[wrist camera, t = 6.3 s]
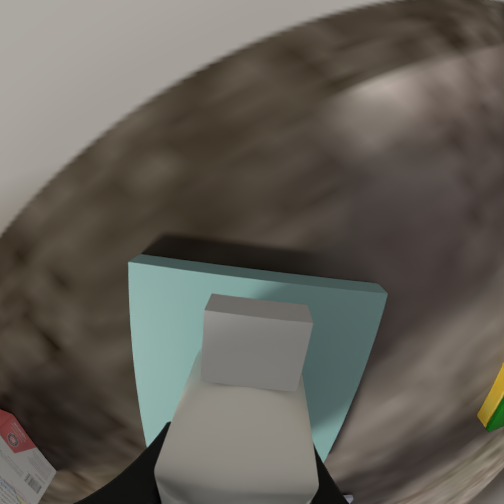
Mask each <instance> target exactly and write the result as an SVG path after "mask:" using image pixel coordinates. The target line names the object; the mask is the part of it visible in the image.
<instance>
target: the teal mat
mask: <svg viewBox="0 0 504 504" xmlns="http://www.w3.org/2000/svg"><path fill="white" fill-rule="evenodd" d="M212 293H213V294H221V295H228V296H236V297H243V298H251V299H259V300H267V301H276V302H285V303H294V304H303V305H308V308H309V311H310V314H311V317H312V320H313V327H312V331H311V336H310V340H309V344H308V348H307V352H306V356H305V360H304V364H303V368H302V376H303V382H304V388H305V394H306V401H307V407H308V413H309V420H310V426H311V433H312V439H313V443H314V445H315V447H316V450H317V452H318V454H319V456H320V458H321V460H322V462H323V463H324V461H325V459H326V457H327V455H328V453H329V451H330V449H331V447H332V445H333V443H334V441H335V439H336V437H337V434H338V432H339V430H340V428H341V426H342V423H343V421H344V419H345V417H346V414H347V412H348V410H349V407H350V405H351V403H352V400H353V398H354V395H355V393H356V390H357V388H358V385H359V382H360V380H361V377H362V374H363V372H364V369H365V366H366V363H367V361H368V358H369V355H370V352H371V349H372V346H373V343H374V340H375V337H376V334H377V330H378V327H379V324H380V321H381V317H382V314H383V310H384V307H385V303H386V299H387V296H388V293H387V292H386V291H385V290H384V289H383V288H382V287H381V286H380V285H379V284H378V283H369V282H360V281H351V280H342V279H333V278H324V277H315V276H307V275H298V274H290V273H281V272H273V271H265V270H257V269H249V268H241V267H233V266H225V265H217V264H210V263H202V262H194V261H187V260H180V259H172V258H165V257H158V256H150V255H143V254H140V255H138V256H137V257H135V258H134V259H132V260H131V261H129V304H130V323H131V337H132V349H133V359H134V369H135V377H136V385H137V393H138V399H139V406H140V412H141V418H142V424H143V430H144V435H145V440H146V445H147V447H148V446H149V445H150V444H151V443H152V442H153V440H154V439H155V438H156V437H157V435H158V434H159V433H160V432H161V430H162V429H163V427H164V426H165V425H166V423H167V422H169V421H170V422H171V421H172V419H173V416H174V413H175V411H176V408H177V405H178V403H179V400H180V397H181V395H182V392H183V389H184V387H185V384H186V381H187V379H188V376H189V373H190V371H191V368H192V365H193V363H194V360H195V358H196V355H197V353H198V352H199V350H200V349H201V348H202V340H203V321H204V309H205V307H206V305H207V303H208V301H209V298H210V296H211V294H212Z"/></svg>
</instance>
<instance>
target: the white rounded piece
mask: <svg viewBox="0 0 504 504" xmlns="http://www.w3.org/2000/svg"><path fill="white" fill-rule="evenodd" d="M312 327H313V320H312V317H311V314H310V311H309V308H308V305H303V304H294V303H285V302H276V301H267V300H259V299H251V298H243V297H236V296H228V295H221V294H213V293H212V294H211V296H210V298H209V301H208V303H207V305H206V307H205V309H204V321H203V340H202V348H201V349H200V350H199V352H198V353H197V355H196V358H195V360H194V363H193V365H192V368H191V371H190V373H189V376H188V379H187V381H186V384H185V387H184V389H183V392H182V395H181V397H180V400H179V403H178V405H177V408H176V411H175V413H174V416H173V419H172V421H171V424H170V427H169V430H168V432H167V435H166V438H165V441H164V443H163V446H162V449H161V451H160V454H159V457H158V460H157V463H156V465H155V470H154V473H155V479H156V483H157V487H158V491H159V494H160V498H161V502H162V504H309V503H310V502H311V500H312V499H313V497H314V496H315V494H316V492H317V490H318V486H319V482H318V474H317V467H316V460H315V453H314V446H313V439H312V433H311V426H310V420H309V413H308V407H307V401H306V394H305V388H304V382H303V376H302V368H303V364H304V360H305V356H306V352H307V348H308V344H309V340H310V336H311V331H312Z"/></svg>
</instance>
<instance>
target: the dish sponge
mask: <svg viewBox="0 0 504 504" xmlns="http://www.w3.org/2000/svg"><path fill="white" fill-rule="evenodd" d="M477 416H478V418H479V419H480V421H481V422H482V424H483V425H484V427H486V430H487V431H488V432H490V431H493V430H495V429H498V428H500V427H503V426H504V363H503V365H502V368H501V370H500V372H499V374H498V376H497V378H496V380H495V382H494V384H493V386H492V388H491V390H490V392H489V394H488V396H487V398H486V400H485V401H484V403H483V405H482V407H481V409H480V410H479V412H478V414H477Z"/></svg>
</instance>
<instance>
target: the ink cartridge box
mask: <svg viewBox="0 0 504 504" xmlns="http://www.w3.org/2000/svg"><path fill="white" fill-rule="evenodd" d="M55 474H56V470H55V469H54V468H53V466H52V465H51V464H50V463H49V462H48V461H47V459H46V458H45V457H44V456H43V454H42V453H41V452H40V451H39V449H38V448H37V447H36V446H35V444H34V443H33V442H32V440H31V439H30V438H29V436H28V435H27V434H26V432H25V431H24V429H23V428H22V427H21V425H20V424H19V422H18V421H17V419H16V418H15V416H14V415H13V414H11V413H8V412H6V411H3V410H1V409H0V504H38V502H39V501H40V499H41V497H42V496H43V494H44V492H45V491H46V489H47V487H48V486H49V484H50V482H51V481H52V479H53V477H54V476H55Z"/></svg>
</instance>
